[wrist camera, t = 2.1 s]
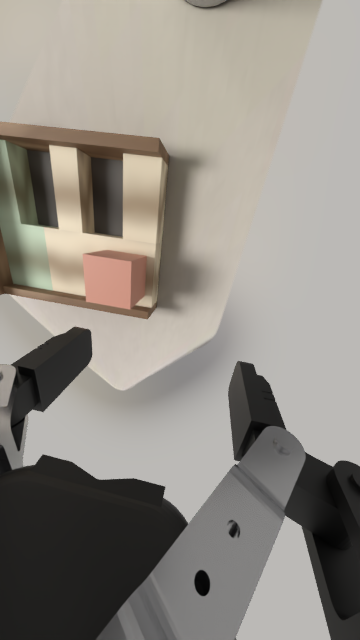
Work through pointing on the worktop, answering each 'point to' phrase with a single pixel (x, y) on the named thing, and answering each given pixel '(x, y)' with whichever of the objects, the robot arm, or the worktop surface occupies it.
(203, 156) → the worktop surface
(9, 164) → the box
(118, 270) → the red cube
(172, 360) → the worktop surface
